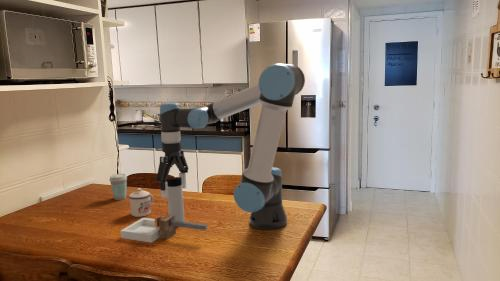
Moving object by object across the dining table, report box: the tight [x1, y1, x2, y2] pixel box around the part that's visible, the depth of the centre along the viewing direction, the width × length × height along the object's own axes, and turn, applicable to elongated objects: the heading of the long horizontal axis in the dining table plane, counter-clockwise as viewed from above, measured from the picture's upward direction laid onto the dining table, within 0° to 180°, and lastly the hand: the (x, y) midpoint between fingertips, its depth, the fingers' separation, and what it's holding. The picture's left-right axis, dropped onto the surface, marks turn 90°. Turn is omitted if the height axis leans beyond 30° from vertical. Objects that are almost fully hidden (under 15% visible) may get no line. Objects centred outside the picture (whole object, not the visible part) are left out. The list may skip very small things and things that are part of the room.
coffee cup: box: [109, 173, 128, 201], centre depth 196 cm, size 8×8×12 cm
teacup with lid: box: [128, 187, 154, 218], centre depth 174 cm, size 12×9×12 cm
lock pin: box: [154, 215, 208, 231], centre depth 145 cm, size 21×4×4 cm, turn 68°
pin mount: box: [159, 214, 176, 240], centre depth 148 cm, size 3×6×7 cm, turn 158°
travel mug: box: [166, 176, 186, 222], centre depth 159 cm, size 6×7×20 cm
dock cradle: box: [120, 217, 160, 243], centre depth 152 cm, size 14×14×3 cm
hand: (174, 192), depth 159 cm, fingers open, 13 cm apart
